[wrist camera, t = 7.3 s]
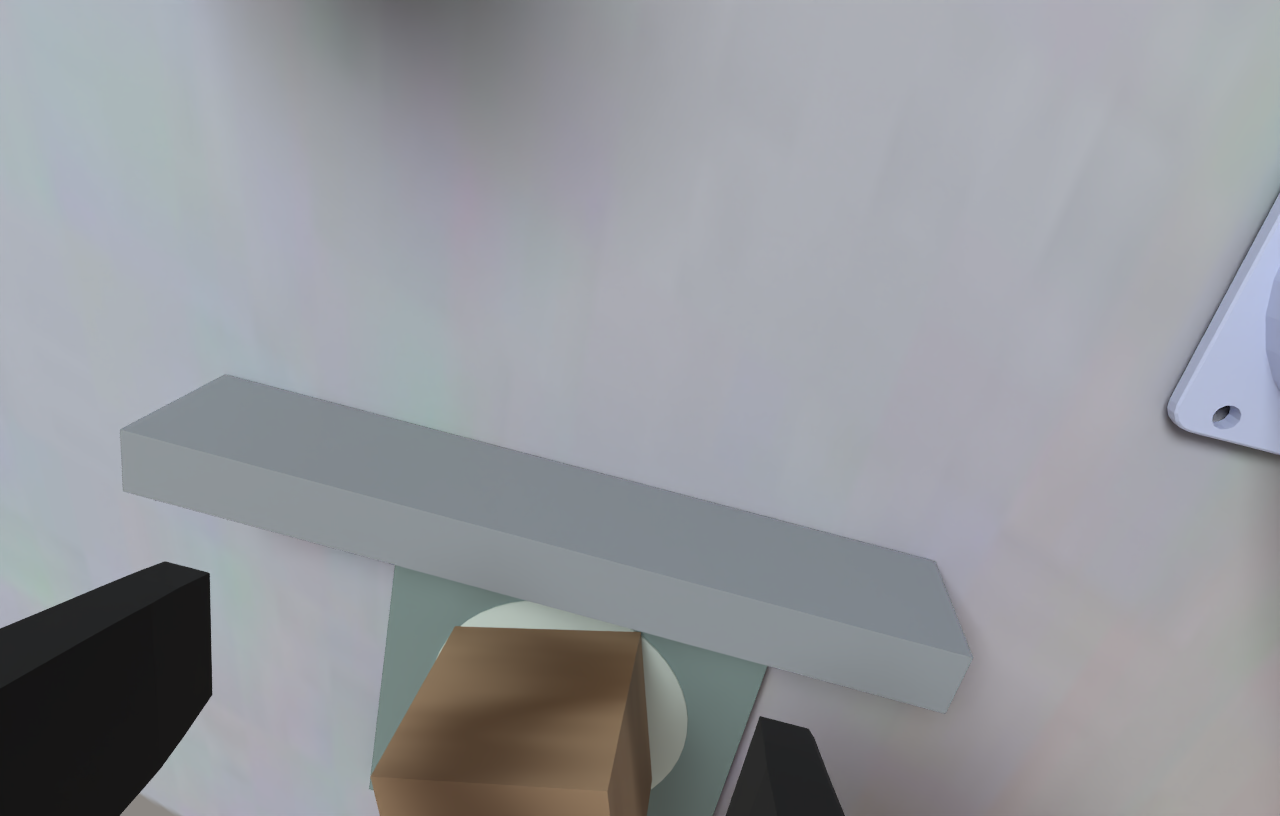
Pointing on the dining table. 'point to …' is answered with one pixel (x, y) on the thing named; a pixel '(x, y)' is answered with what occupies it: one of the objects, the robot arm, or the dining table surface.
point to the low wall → (555, 536)
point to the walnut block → (523, 728)
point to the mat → (673, 671)
